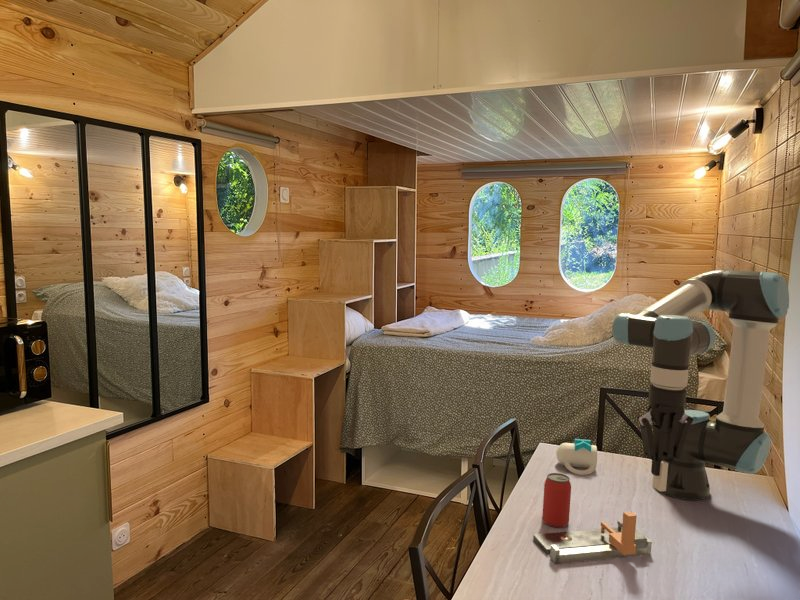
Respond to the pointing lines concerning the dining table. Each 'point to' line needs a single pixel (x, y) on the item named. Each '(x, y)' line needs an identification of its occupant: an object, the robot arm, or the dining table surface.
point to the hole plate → (573, 539)
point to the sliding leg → (623, 534)
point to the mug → (578, 456)
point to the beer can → (556, 500)
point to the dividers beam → (599, 550)
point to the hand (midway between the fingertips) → (659, 488)
